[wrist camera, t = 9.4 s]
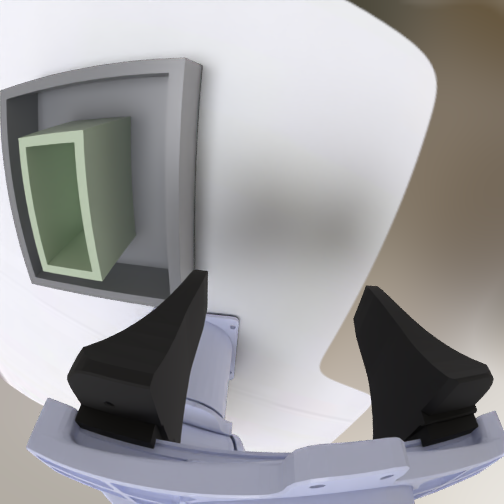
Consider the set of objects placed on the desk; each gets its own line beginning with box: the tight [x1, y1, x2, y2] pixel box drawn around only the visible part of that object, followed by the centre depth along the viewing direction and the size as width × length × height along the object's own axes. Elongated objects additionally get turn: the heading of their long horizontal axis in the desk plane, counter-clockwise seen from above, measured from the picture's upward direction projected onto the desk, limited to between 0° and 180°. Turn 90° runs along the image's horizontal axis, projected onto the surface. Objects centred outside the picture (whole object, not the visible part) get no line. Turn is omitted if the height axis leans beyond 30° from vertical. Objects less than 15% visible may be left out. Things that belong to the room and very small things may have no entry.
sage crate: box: [18, 117, 136, 281], centre depth 17 cm, size 9×5×6 cm, turn 175°
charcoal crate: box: [0, 58, 202, 307], centre depth 18 cm, size 16×14×4 cm
